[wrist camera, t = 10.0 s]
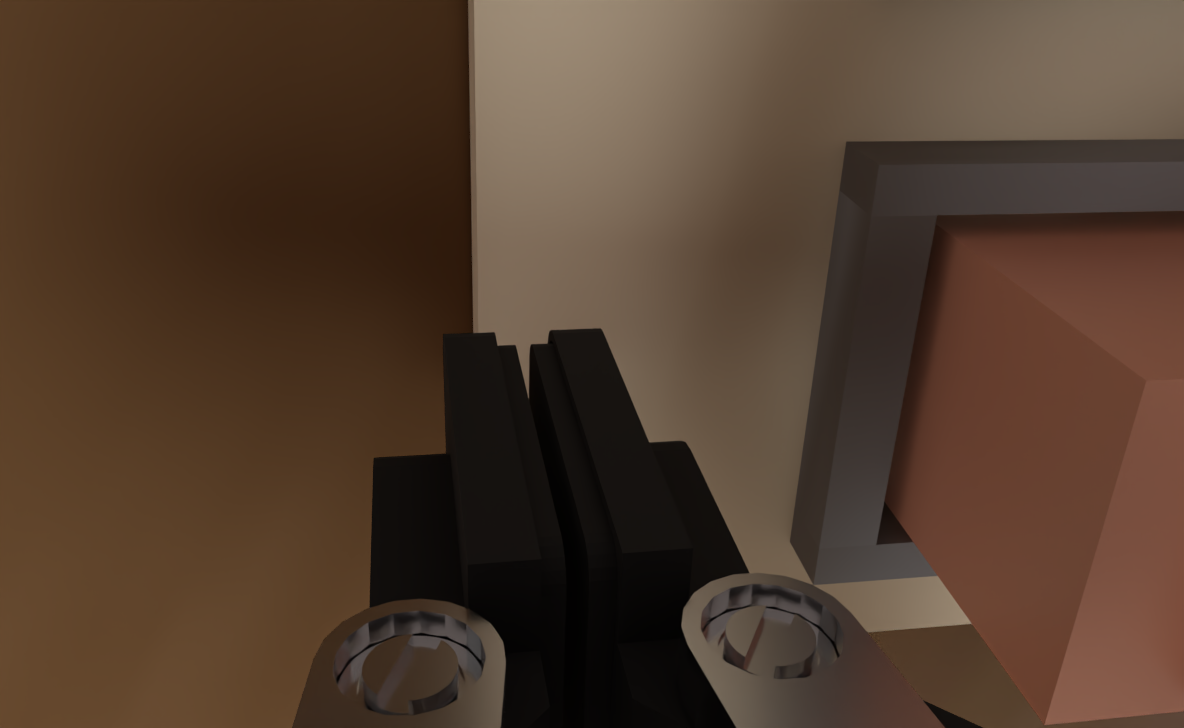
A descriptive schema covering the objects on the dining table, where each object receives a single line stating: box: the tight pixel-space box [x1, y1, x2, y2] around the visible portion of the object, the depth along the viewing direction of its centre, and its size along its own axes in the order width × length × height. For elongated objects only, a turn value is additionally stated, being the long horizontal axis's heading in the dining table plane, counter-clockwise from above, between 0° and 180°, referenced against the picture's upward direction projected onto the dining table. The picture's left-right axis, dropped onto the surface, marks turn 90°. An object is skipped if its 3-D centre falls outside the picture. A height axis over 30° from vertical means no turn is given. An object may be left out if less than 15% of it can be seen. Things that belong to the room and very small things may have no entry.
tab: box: [884, 211, 1184, 725], centre depth 12 cm, size 4×4×5 cm
